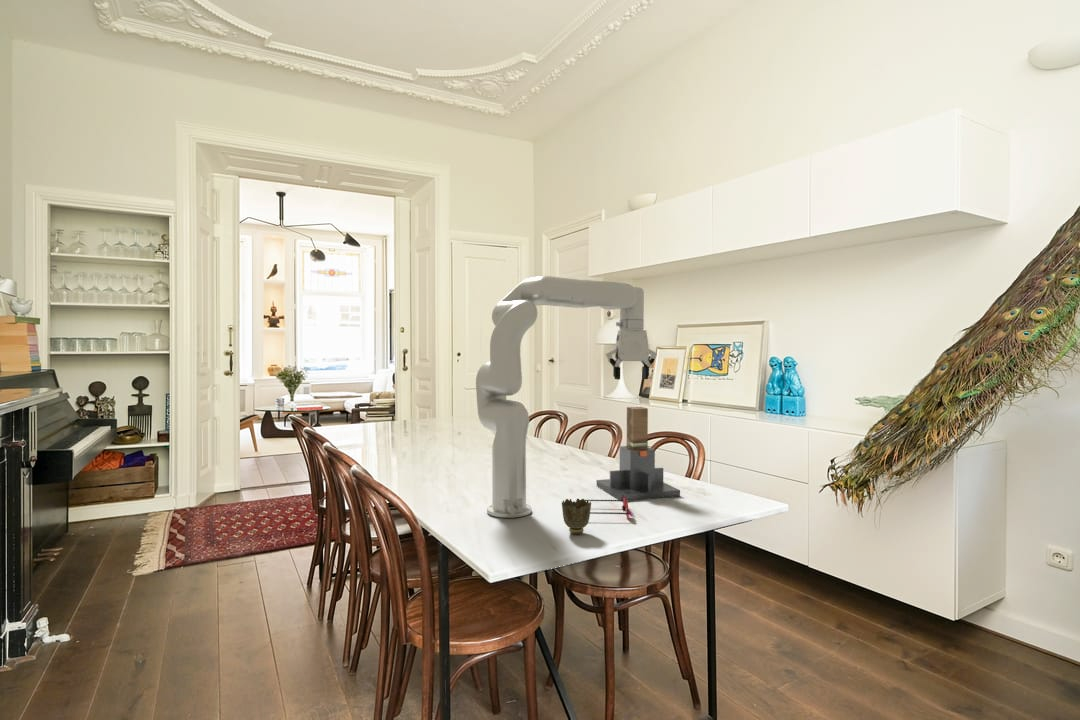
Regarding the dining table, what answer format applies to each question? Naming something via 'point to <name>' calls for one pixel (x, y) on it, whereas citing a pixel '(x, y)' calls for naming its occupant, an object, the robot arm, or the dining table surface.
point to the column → (637, 428)
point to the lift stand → (637, 477)
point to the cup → (576, 515)
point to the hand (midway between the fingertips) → (631, 379)
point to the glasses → (625, 506)
